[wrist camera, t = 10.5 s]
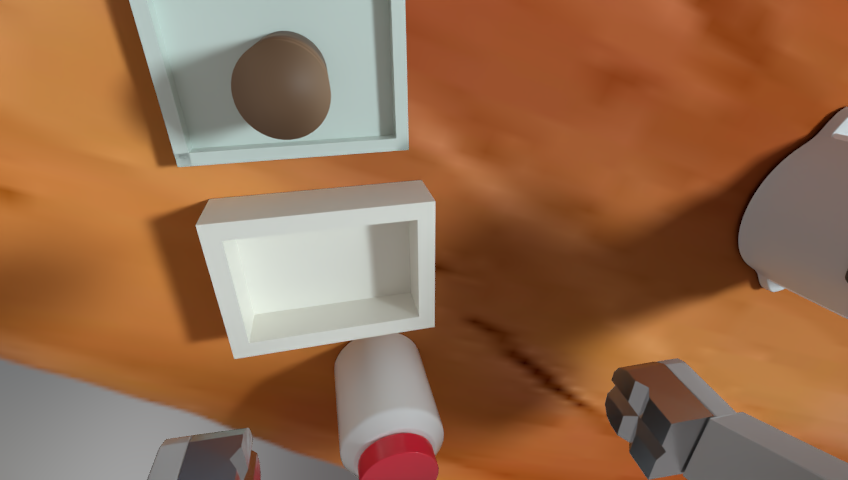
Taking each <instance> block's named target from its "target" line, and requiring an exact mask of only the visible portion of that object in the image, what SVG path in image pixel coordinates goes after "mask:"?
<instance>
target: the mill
mask: <svg viewBox="0 0 848 480" xmlns="http://www.w3.org/2000/svg"><path fill="white" fill-rule="evenodd" d="M231 92H232V97H233V100H234V103H235V106H236V108H237V110H238V111H239V113H240V115H241V116H242V117H243V119H244V120H245V121H246V122H247V123H248V124H249V125H250V126H251V127H253V128H254V129H255V130H257V131H258V132H260V133H262V134H264V135H266V136H268V137H271V138H275V139H281V140H293V139H298V138H302V137H304V136H307V135H309V134H310V133H312V132H313V131H315V130H316V129H317V128H318V127H319V126H320V125H321V124H322V123H323V121H324V120H325V118H326V116H327V114H328V111H329V108H330V103H331V89H330V83H329V77H328V72H327V66H326V63H325V60H324V57H323V55H322V53H321V52H320V50H319V49H318V48H317V46H316V45H315V44H314V43H313V42H312V41H310V40H309V39H308V38H306V37H305V36H303V35H301V34H298V33H295V32H291V31H277V32H273V33H270V34H268V35H266V36H265V37H263V38H262V39H261V40H259V41H258V42H257V43H256V44H254V45H253V46H252V47H250V48H249V49H248V50H247V51H246V52H244V53H243V54H242V56H241V57H240V58H239V59H238V61H237V63H236V65H235V67H234V69H233V73H232V77H231Z"/></svg>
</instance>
